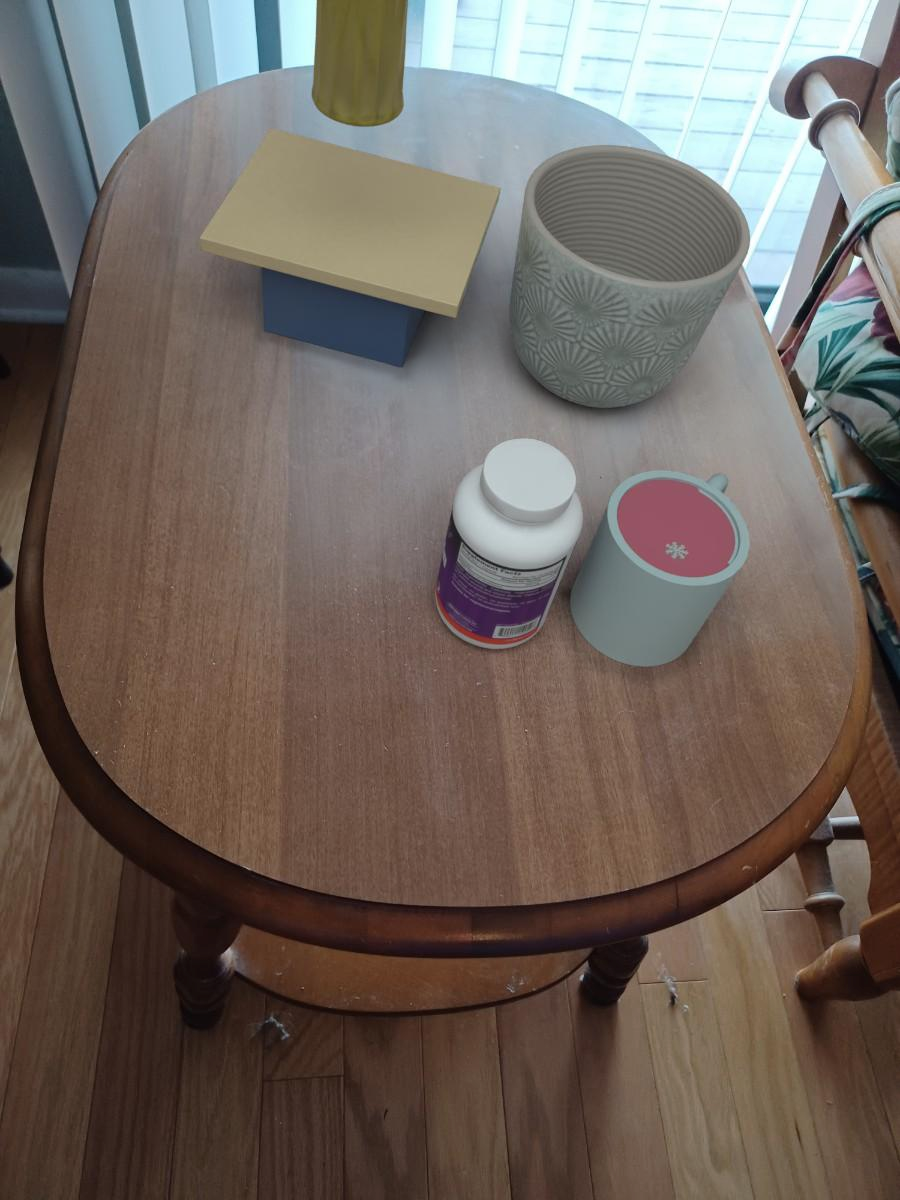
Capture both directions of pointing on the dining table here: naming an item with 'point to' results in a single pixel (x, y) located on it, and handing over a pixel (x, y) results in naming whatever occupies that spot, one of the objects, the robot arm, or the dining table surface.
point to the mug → (658, 566)
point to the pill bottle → (508, 544)
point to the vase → (360, 60)
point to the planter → (619, 271)
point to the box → (351, 242)
